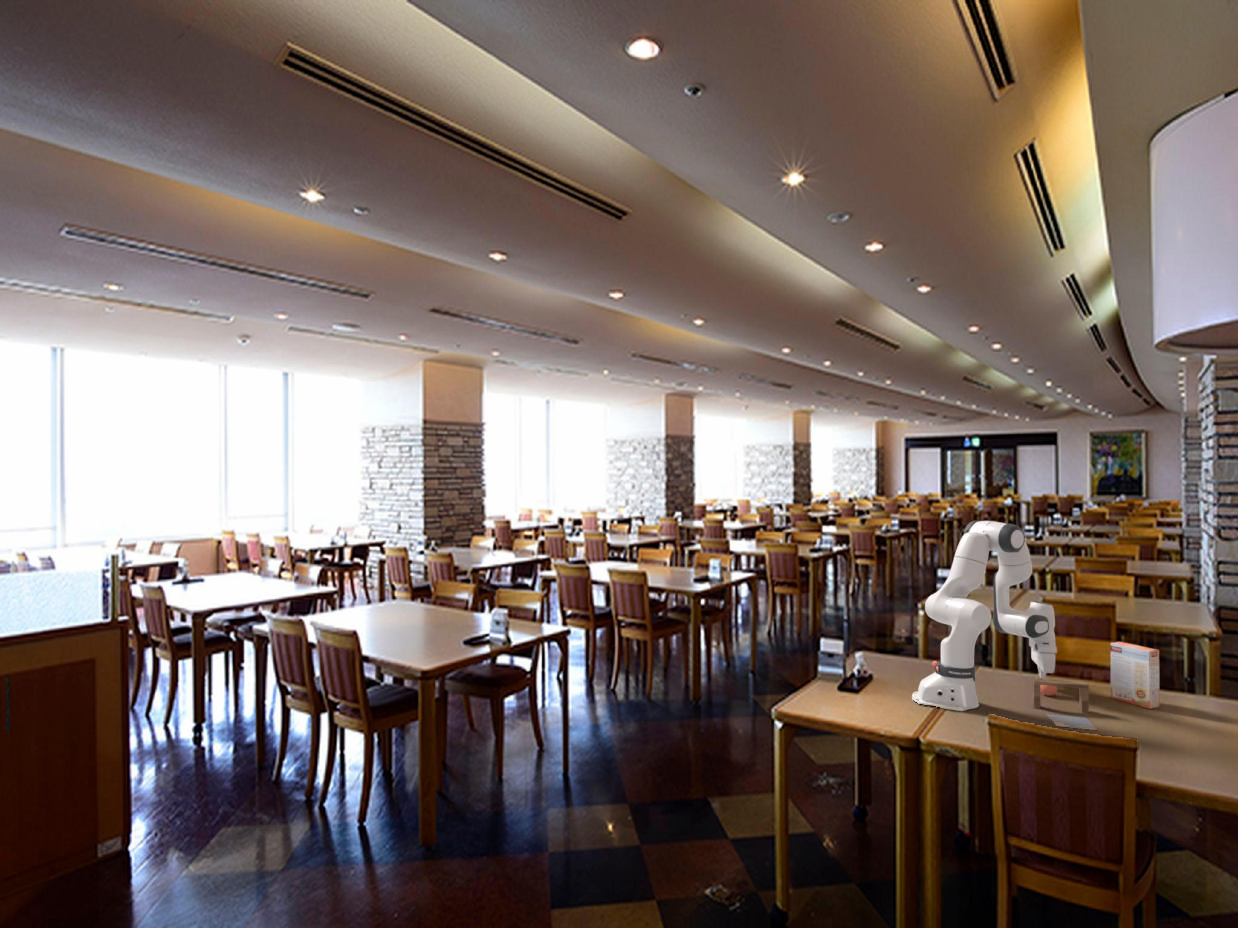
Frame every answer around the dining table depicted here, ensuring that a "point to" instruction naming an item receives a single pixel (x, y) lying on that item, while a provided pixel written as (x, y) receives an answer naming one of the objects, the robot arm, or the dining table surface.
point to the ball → (1048, 689)
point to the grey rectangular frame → (1082, 686)
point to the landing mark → (1072, 721)
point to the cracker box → (1135, 674)
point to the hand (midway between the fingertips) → (1042, 677)
